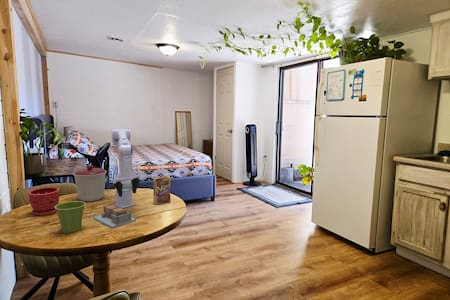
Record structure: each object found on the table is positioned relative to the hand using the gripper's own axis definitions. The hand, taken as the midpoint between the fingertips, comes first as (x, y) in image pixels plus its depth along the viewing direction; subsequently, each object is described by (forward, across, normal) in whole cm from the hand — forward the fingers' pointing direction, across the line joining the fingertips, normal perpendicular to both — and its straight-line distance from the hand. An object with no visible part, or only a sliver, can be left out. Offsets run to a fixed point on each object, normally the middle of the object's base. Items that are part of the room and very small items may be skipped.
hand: (127, 194), depth 140 cm
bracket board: (+10, -9, -3) cm, 14 cm away
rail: (+9, -9, -4) cm, 13 cm away
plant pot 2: (+10, -27, 0) cm, 29 cm away
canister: (+10, -1, +39) cm, 40 cm away
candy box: (+10, +22, +1) cm, 24 cm away
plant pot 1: (+10, -27, +33) cm, 44 cm away
